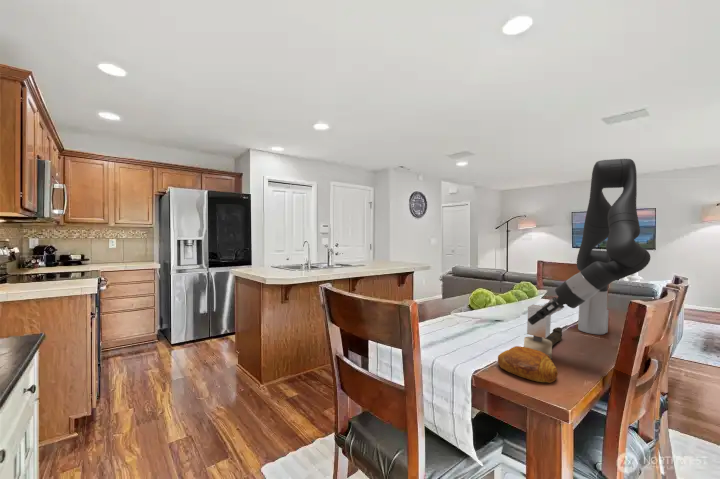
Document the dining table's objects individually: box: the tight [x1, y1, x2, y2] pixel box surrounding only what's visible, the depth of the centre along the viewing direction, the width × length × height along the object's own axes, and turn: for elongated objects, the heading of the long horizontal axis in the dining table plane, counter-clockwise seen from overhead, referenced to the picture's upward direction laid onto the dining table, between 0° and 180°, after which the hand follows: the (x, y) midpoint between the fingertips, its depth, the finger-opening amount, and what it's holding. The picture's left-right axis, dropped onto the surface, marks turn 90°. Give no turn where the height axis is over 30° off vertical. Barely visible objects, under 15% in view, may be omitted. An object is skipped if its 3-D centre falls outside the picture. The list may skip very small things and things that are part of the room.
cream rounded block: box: [523, 335, 553, 360], centre depth 107 cm, size 8×8×8 cm
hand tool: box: [545, 327, 563, 347], centre depth 119 cm, size 19×4×5 cm, turn 132°
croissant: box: [497, 345, 559, 384], centre depth 95 cm, size 14×16×8 cm
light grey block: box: [526, 303, 552, 338], centre depth 107 cm, size 5×5×9 cm
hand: (532, 320), depth 108 cm, fingers closed on light grey block, 5 cm apart
